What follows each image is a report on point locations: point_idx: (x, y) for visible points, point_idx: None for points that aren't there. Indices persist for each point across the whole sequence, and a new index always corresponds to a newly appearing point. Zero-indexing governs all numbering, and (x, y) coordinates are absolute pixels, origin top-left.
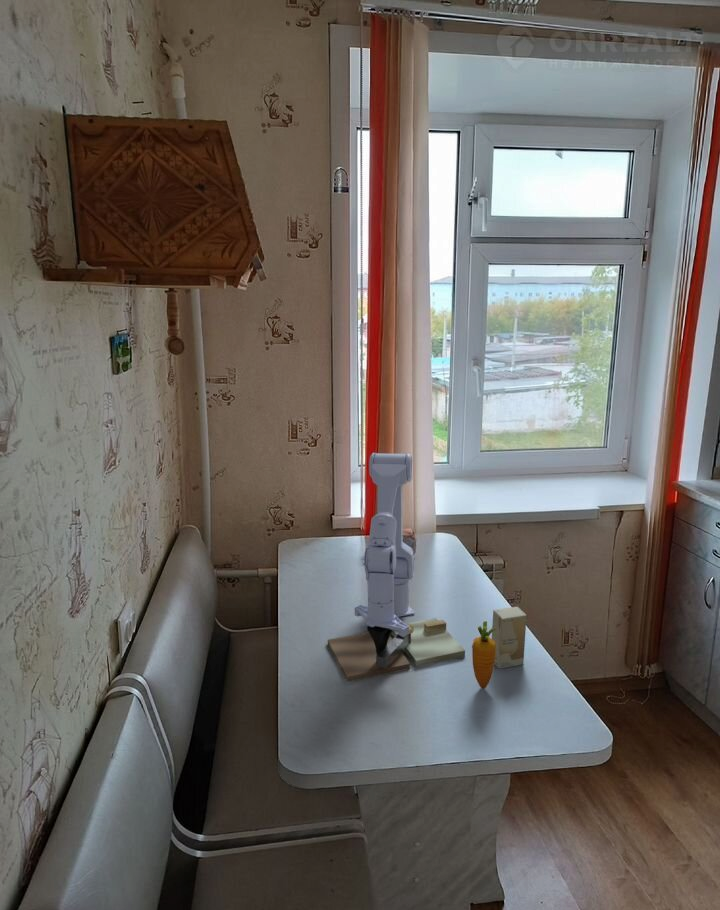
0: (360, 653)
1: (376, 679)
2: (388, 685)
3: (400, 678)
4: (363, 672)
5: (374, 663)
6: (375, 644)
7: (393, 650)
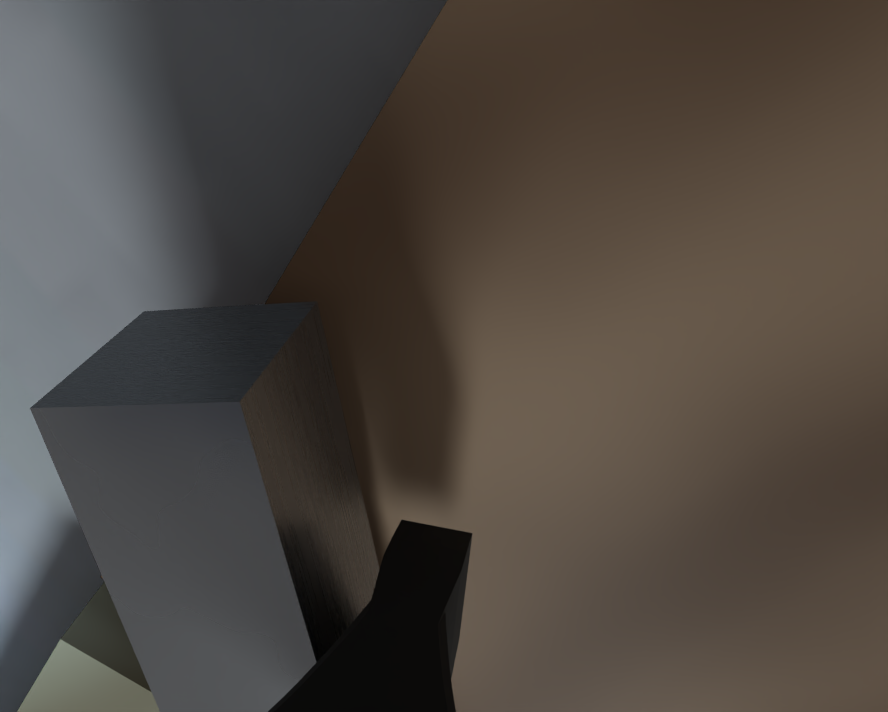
0: (826, 501)
1: (271, 127)
2: (48, 104)
3: (65, 325)
4: (442, 63)
5: (459, 384)
6: (421, 676)
7: (142, 661)
